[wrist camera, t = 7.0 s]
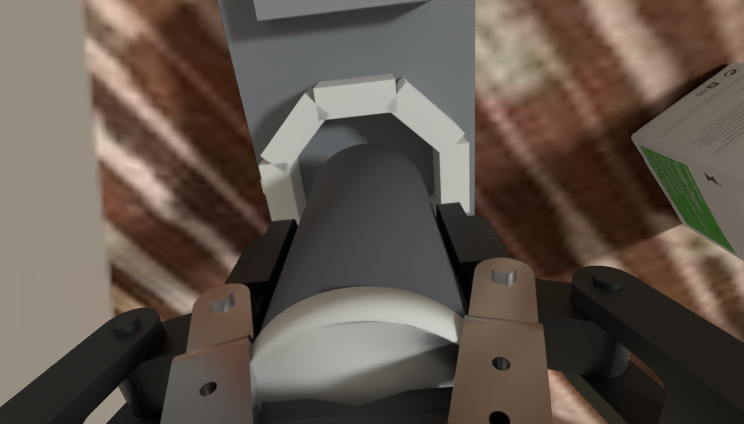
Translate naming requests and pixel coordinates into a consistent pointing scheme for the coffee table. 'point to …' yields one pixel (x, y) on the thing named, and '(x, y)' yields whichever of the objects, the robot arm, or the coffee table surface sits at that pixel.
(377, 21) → the camera body
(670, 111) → the skincare box
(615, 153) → the coffee table surface
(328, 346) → the dark grey cylinder
